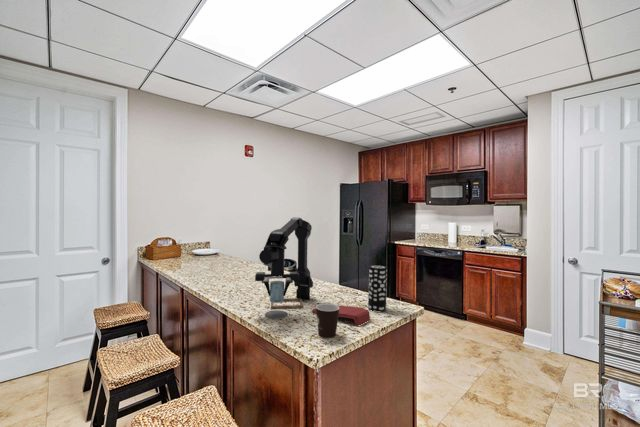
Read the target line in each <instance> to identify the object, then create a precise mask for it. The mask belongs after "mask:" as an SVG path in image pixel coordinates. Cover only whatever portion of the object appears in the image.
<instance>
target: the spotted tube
mask: <svg viewBox="0 0 640 427" xmlns="http://www.w3.org/2000/svg"><path fill="white" fill-rule="evenodd" d="M387 284H388V267H387V266H385V265H376V264H375V265H373V264H372V265H369V266H368V297H367V299H368V303H367V310H368V311H370V310H372V311H371V312H373V311H384V312H386V311H387V292H388V290H387V286H388V285H387ZM385 310H386V311H385Z"/></svg>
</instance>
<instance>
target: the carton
mask: <svg viewBox="0 0 640 427" xmlns="http://www.w3.org/2000/svg"><path fill="white" fill-rule="evenodd" d="M336 305H337V306H338V307H339V314H338V318H339V317H340V318H347V319H352V320H354V325H355V324H356V325H355V326H357V325H361V324H363V323H365V322H367V321H369V320H370V321H371V316H370V312H369V309H366V308H364V307H362V306H359V307H358V306H348V305H339V304H336ZM311 313H312V314H316V315H317V313H316V307H315V308H313V309H312V310H311ZM370 321H369V322H370ZM367 323H368V322H367ZM365 324H366V323H365ZM363 325H364V324H363ZM361 326H362V325H361Z"/></svg>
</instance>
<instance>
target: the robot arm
mask: <svg viewBox="0 0 640 427" xmlns="http://www.w3.org/2000/svg"><path fill="white" fill-rule="evenodd" d="M312 228H313V227H312V225H311V223H310V222H309V221H306V220H303V219H302V218H301V217H291V218H290V220H289V221H288V222H286V223H285V224H284V225H283V226H282V227H281V228H279V229H278V228H277V229H274V230H272V231H271V232H270V233H269V235H268V238H267V240H266V243H265V244H264V246H263V250H261V251H260V253H259V255H258V256H259V261H260V262H261V263H262V264H264V265H267V271H268V272H270V273H266V272H265V271H257V272H256V273H255V275H254V281H255V282H261V283H262V284H264V286H265V289H266V292H267V293H268V294H267V295H268V297H270V280H271V279H285V280H284V281H285V282H284V297H285V296H286V294H287V291H288V288H290V284H291V283H293V284H294V287H297V288H296V292H295V295H296V296H295V298H301V299H302V301H304V300H305V301H307V300H309V301H310V300H311V288H312V289H313V288H314V281H313V279H312V277H311V271H310V269H309V268H308V239H309V238H310V237H311V233H312ZM293 232H294V235H295V237H296V238H297V268H296V270H295V271H289V273H285V250H287V246H286V244H287V242H288V241H289V239H290V238H289V237H290V236H291V234H292V233H293Z"/></svg>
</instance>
